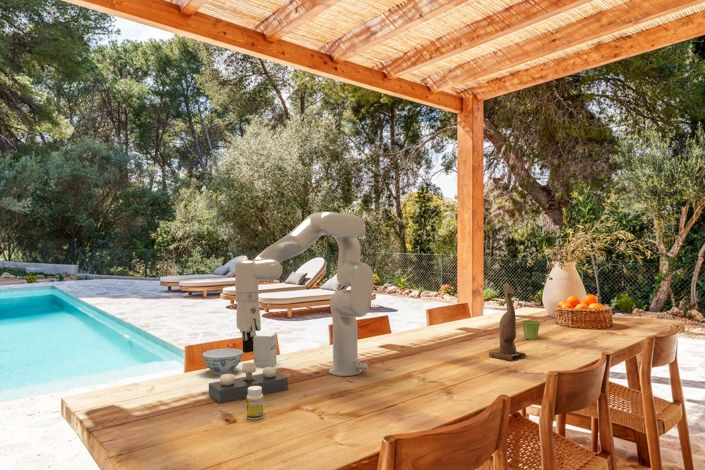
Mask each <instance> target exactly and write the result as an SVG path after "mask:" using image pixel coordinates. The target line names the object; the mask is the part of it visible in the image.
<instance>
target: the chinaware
mask: <svg viewBox="0 0 705 470" xmlns="http://www.w3.org/2000/svg"><path fill="white" fill-rule="evenodd" d="M243 354H244V352H243V349H242V350H241V349H238V348H217V349H216V348H215V349H211V350H208V351H205V352H203V353H202V359H203V360H204V364H205V365H206V366H207V368H209V370H211V371H213V374H214V375H215V376H216V375H217V376H221V375H223V374H233V373H232V372H233V370H235V369H236V368H237V367H238V366H239V364H240V363H241V360H242V357H243Z"/></svg>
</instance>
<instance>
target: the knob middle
mask: <svg viewBox="0 0 705 470" xmlns="http://www.w3.org/2000/svg"><path fill="white" fill-rule="evenodd" d="M241 367H242V368H241V370H242V371H241V373H243V374H245V377H246V382H251V381H252V375H253V373H255V372H257V369H256V368H257V367H256V364H255V363H254V362H245V363H242V364H241Z"/></svg>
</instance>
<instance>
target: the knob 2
mask: <svg viewBox="0 0 705 470" xmlns="http://www.w3.org/2000/svg"><path fill="white" fill-rule="evenodd" d="M276 372H277V368H276V367H275V366H271V367H262V374H263V376H264V377H267V378H272V377H274V376H276Z"/></svg>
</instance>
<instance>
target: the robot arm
mask: <svg viewBox="0 0 705 470" xmlns="http://www.w3.org/2000/svg"><path fill="white" fill-rule="evenodd" d="M364 229H365V223H364V221H363V219H362V218H361V217H360V216H358V215H356V214H348V213H340V212H333V211H320V212H319V211H317V212H314V213H311V214H309V215H308V216H307V217H305V218H304V220H303V221H301V222H300V223H299V224H298V225H297V226H296V227H294V228H293V229H292V230H291V231H290V232H289V233H288V234H286V235H285V236H283V237H281V238H280V239H279V240H277V241H276V242H274V243H272V244H271V245H269V246H267V247H266V248H264V249H263V250H262V251H261V252H260V253H259V254H258V255H257V256H256V257H255V258H253V260H251V259H248V260H246V259H245V260H243V259H242V260H237V262H235V265H234V271H235V276H234V278H235V282H234V283H235V303H236V328H237V329H238V330H239V332H240V333H241V340H242V341H241V342H242V351H243V353H245V354H246V353H254V336H256V335H257V332H260V331H261V329H262V328H261V327H262V326H261V312H260V304H259V281H266V282H267V281H268V282H274V281H277V280H278V279H279V278H280V277H282V274H283V270H284V269H283V266H282V262H284V261H286V260H287V259H291V258H294V257H297V256H299V255H301V254H303V253H305V251H307V250H308V249H309V247H311V245H313V244H314V243H316V241H317V240H318V239H320V237H322V236H332V238H334V240H335V242H336V243H337V247H338V259H337V268H336V269H337V270H336V280H337V282H338V283H339V285H341V286H343V287H344V286H345V287H350V289H338V290H336V291H335V292H334V293H332V294H331V297H330V299H329V303H330V304H329V306H330V307H329V308H330V313H331V318H332V366H331V367H330V368H329V369H328V372H329V374H330V375H334V376H337V377H338V376H339V377H352V376H357V375H360V374H361V373H362V371H363V370H366V371H367V370H368V369H369V365H368V364H367V363H362V362H361V359H359V358H358V356H359V355H358V351H359V350H358V321H357V318H363V317H364V316H366V315H367V314H368V313H369V312H370V311H369V310H370V309H371V306H372V305H371V304H372V298H373V288H374V286H373V285H374V273H373V269H372V267H371V266H370V265H369V264H367V263H366V262H361V253H362V251H361V244H360V241H359V240H358V237H361V235H362V234H363V233H364Z"/></svg>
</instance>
